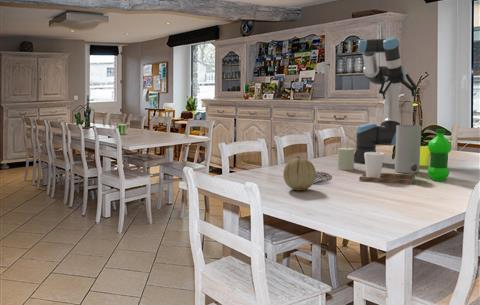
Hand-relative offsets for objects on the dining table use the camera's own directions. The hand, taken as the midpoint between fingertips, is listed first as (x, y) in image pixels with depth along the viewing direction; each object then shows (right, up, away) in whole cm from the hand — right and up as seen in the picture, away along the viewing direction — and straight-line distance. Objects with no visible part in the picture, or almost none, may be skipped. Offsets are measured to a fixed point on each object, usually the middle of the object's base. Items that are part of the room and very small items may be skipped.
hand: (399, 103), depth 254 cm
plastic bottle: (+8, -41, -30) cm, 52 cm away
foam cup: (-23, -41, -27) cm, 54 cm away
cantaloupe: (-63, -45, -50) cm, 92 cm away
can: (-30, -37, +2) cm, 48 cm away
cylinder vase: (+1, -38, -9) cm, 39 cm away
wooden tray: (-16, -41, -30) cm, 54 cm away
